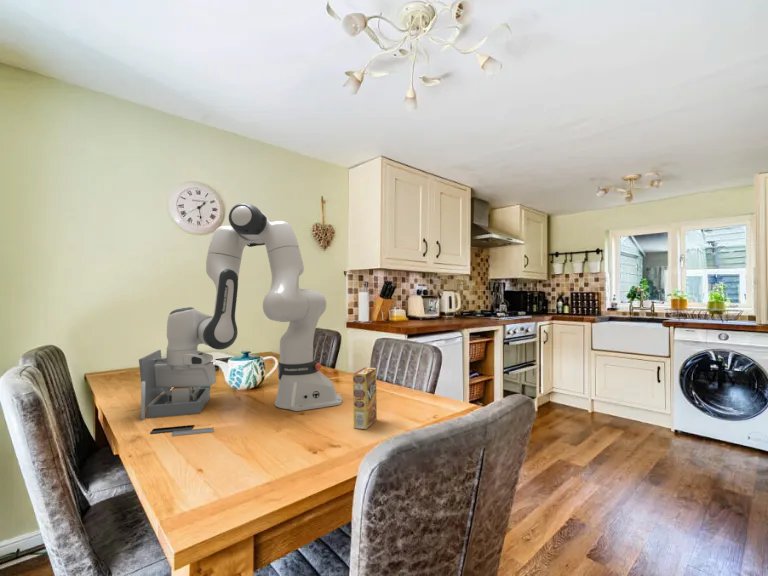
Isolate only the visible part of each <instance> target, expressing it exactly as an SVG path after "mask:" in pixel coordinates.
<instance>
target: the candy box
mask: <svg viewBox="0 0 768 576" xmlns="http://www.w3.org/2000/svg"><path fill="white" fill-rule="evenodd" d="M352 396H353V398H352V399H353V403H352V404H353V429H360V430H361V429H362V430H367V429H368V428H369V427H370V426H372V425H373V423H375V422H376V421H377V419H378V414H377V413H378V412H377V409H378V407H377V406H378V405H377V402H378V400H377V368H376V367H363V368H361V369H359V370H357V371H356V372H353V374H352Z"/></svg>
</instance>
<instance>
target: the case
mask: <svg viewBox="0 0 768 576" xmlns="http://www.w3.org/2000/svg"><path fill="white" fill-rule="evenodd" d="M170 391H171V393H172V389H170ZM194 391H195V390H193V389H192V394H193V393H194ZM210 398H211V387H210V388H200V390H199V391H198V393H197V399H196V400H195V401H192V402H185V403H172V401H168V396H167V395H166V394H165V392H163V393H161V394H160V395H159V396H158V397H157V398H156V399H155V400H153V401H152V402H151V403H150V404H149V405H148V406H146V407H145V381H142V382H141V381H140V399H141V400H140V420H141V421H145V420H146V418H147V419H152V418H164V417H166V418H167V417H175V416H186V415H187V416H189V415H200V414H201V412H202V411H203V409H204V407H206V405H207V403H208V402H209V400H210Z"/></svg>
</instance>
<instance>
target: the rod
mask: <svg viewBox="0 0 768 576" xmlns="http://www.w3.org/2000/svg"><path fill="white" fill-rule="evenodd" d="M214 432H215V428H214V427H213V426H212V427H203V428H194V429H193V428H192V429H191V430H181V431H173V432H171V437H176V436H178V435H179V436H188V435H196V434H207V433H214Z"/></svg>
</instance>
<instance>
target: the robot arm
mask: <svg viewBox="0 0 768 576" xmlns="http://www.w3.org/2000/svg"><path fill="white" fill-rule="evenodd" d="M228 222H229V225H221V226H218V227H216V229H215V231H214V232H213V235H212V237H211V238H210V239H211V241H210V242H209V246H208V251H207V255H206V261H205V262H206V263H205V271H206V272H205V273H206V275H207V276H208V277H209V278H210V279H211V280H212V282H213V284H214V286H215V289H216V290H215V291H216V292H215V293H216V295H215V300H214V301H215V302H214V309H213V310H214V311H213V315H209V314H205V313H203V312H201V311H199V310H197V309H196V308H195V307H191V306H190V307H182V308H176V309H174V310H172V311H171V312H170V313H169V314H168V317H167V322H166V339H167V346H166V357H161V358H155V365H154V369H155V380H156V388H163V387H164V392H165V394H166V395H167V396H168V401H172V393H171V391H170V390H172V388H174V387H193V390H195V391H194V393H193V394H191V395H190V401H195V400H196V399H197V393H198V391H199V390H200V387H209V386H210V387H211V386H213V385H215V383H216V381H217V375H216V374H217V373H216V367H215V364H214V363H213V362H212V361H213V360H214V356H213V355H212V354H210V353H207V352H203V351H200V350H198V346H199V345H201V344H202V345H203V344H204V345H205V346H208V347H210V348H211V349H214V350H225V349H227V348H229V347H231V346H232V345H233V344H234V343H235V341H236V340H237V337H238V326H237V323H236V321H237V320H236V308H237V300H238V298H237V297H238V289H239V274H240V269H241V268H240V267H241V263H242V257H243V252H244V249H245V247H246V246H247V247H249V248H250V247H251V248H252V247H257V246H265V249H266V253H267V258H268V262H269V267H270V272H271V283H270V284H271V285H270V288H269V291H268V292H267V293H266V295H265V296H264V298H263V301H262V310H263V314H264V315H265V317H266V318H267V319H269V320H270V321H274V322H279V323H289V324H288V327H287V329H286V331H285V332H284V333H283V334H282V336H281V337H280V339H279V361H278V365H277V377H278V387H277V394H276V399H275V401H274V406H275V407H276V408H280V409H283V410H284V409H285V410H291V411H293V412H300V411H309V410H313V409H321V408H328V407H333V406H339V405H341V404H342V403H343V398H342V396H341V394H339V393H338V392H336V387H335V385H334V384H335V383H334V382H333V381H332V380H331V379H330V378H329V377H327V376H326V375H325V374H323V373H322V372H321V371H319V370H321V369H322V364H321V363H319V362H318V361H316V360H314V337H315V333H316V328H317V325H318V323H319V320H320V318H321V317H322V315H323V314H324V313H325V311H326V308H327V300H326V297H325V295H324V294H323V292H322V293H321V292H320V291H317V290H315V289H311V288H300V283H299V281H300V276H301V275H302V274H303V273H304V271H305V266H304V265H305V264H304V262H303V258H302V254H301V250H300V245H299V243H298V242H299V241H298V239H297V236H296V234H295V232H294V229H293V227H292V225H291V224H290V223H289V222H287V221H284V220H275V221H271V220H270V219H269V218H268V216H267V215H266V214H265V213H264V212H263V211H261V210H260V209H259V208H258V207H257V206H255V205H254V204H252V203H247V202H240V203H237V204H236V205H234V206H232V207H231V209H230V211H229V212H228ZM158 361H159V362H158ZM168 401H167V402H168Z"/></svg>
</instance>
